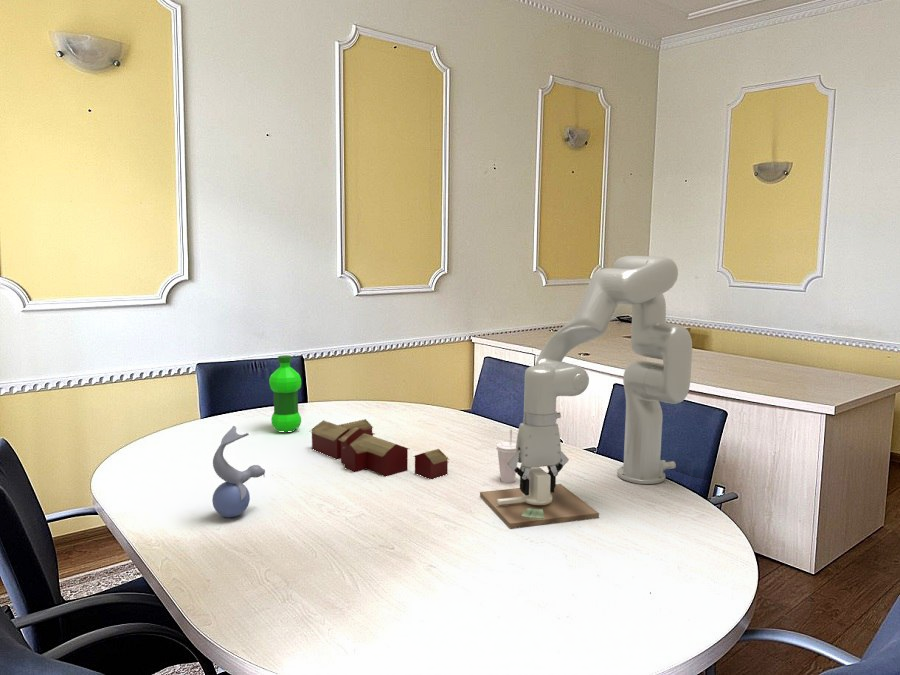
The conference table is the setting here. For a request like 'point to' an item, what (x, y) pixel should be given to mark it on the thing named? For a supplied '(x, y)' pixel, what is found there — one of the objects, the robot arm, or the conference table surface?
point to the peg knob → (534, 489)
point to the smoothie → (506, 460)
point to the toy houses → (373, 450)
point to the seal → (232, 480)
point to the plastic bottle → (285, 396)
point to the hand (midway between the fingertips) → (537, 491)
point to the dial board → (539, 508)
